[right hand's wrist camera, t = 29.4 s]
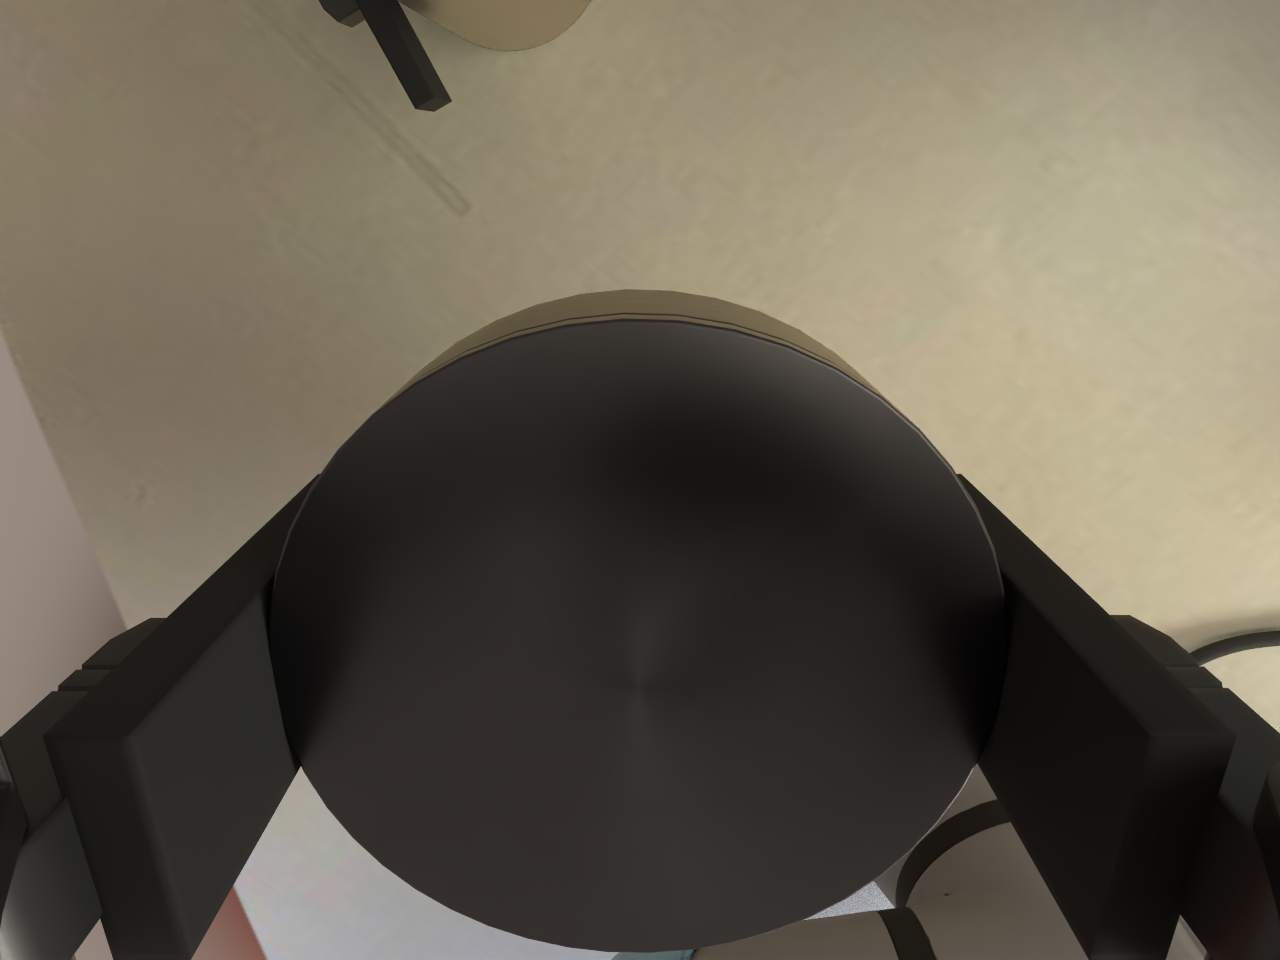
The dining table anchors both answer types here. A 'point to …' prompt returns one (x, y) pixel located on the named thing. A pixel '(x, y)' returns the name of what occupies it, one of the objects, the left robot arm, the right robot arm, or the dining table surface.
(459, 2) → the jar
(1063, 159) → the dining table surface
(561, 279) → the dining table surface
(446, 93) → the left robot arm
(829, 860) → the lid
